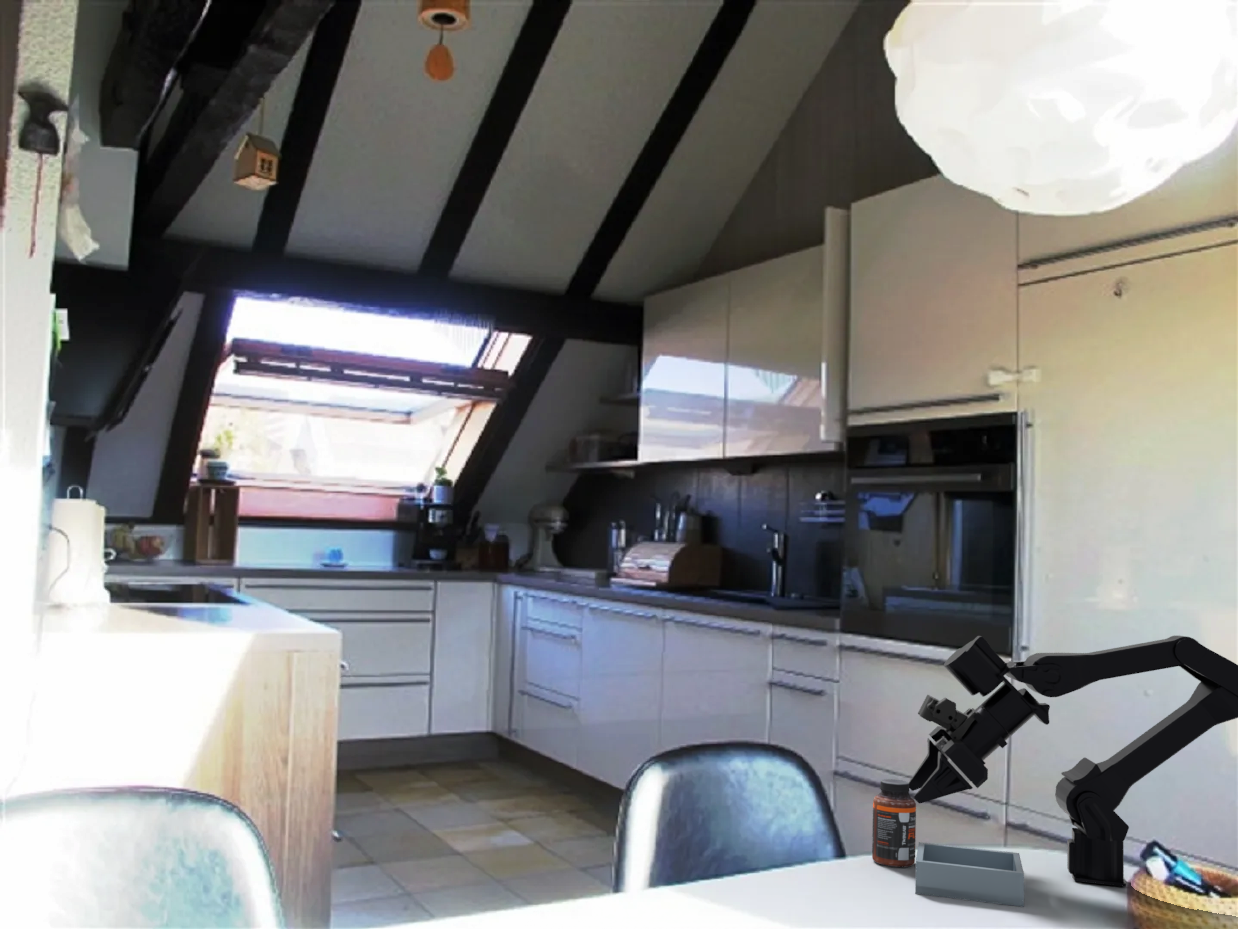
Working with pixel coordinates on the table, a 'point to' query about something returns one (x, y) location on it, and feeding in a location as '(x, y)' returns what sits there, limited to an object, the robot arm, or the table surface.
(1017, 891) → the tote
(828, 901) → the table surface
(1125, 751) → the robot arm
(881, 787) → the supplement bottle
